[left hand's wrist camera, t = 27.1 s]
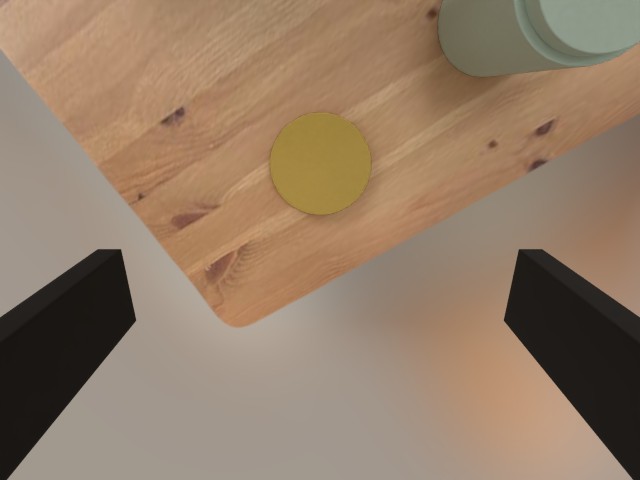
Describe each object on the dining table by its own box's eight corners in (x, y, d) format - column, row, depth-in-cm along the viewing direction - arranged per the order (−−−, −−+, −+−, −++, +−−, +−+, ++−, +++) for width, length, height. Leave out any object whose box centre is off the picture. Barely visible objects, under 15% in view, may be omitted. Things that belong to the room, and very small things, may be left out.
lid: (252, 148, 36) (249, 150, 34) (336, 91, 34) (337, 90, 33) (306, 226, 39) (306, 232, 37) (386, 178, 37) (389, 181, 36)
